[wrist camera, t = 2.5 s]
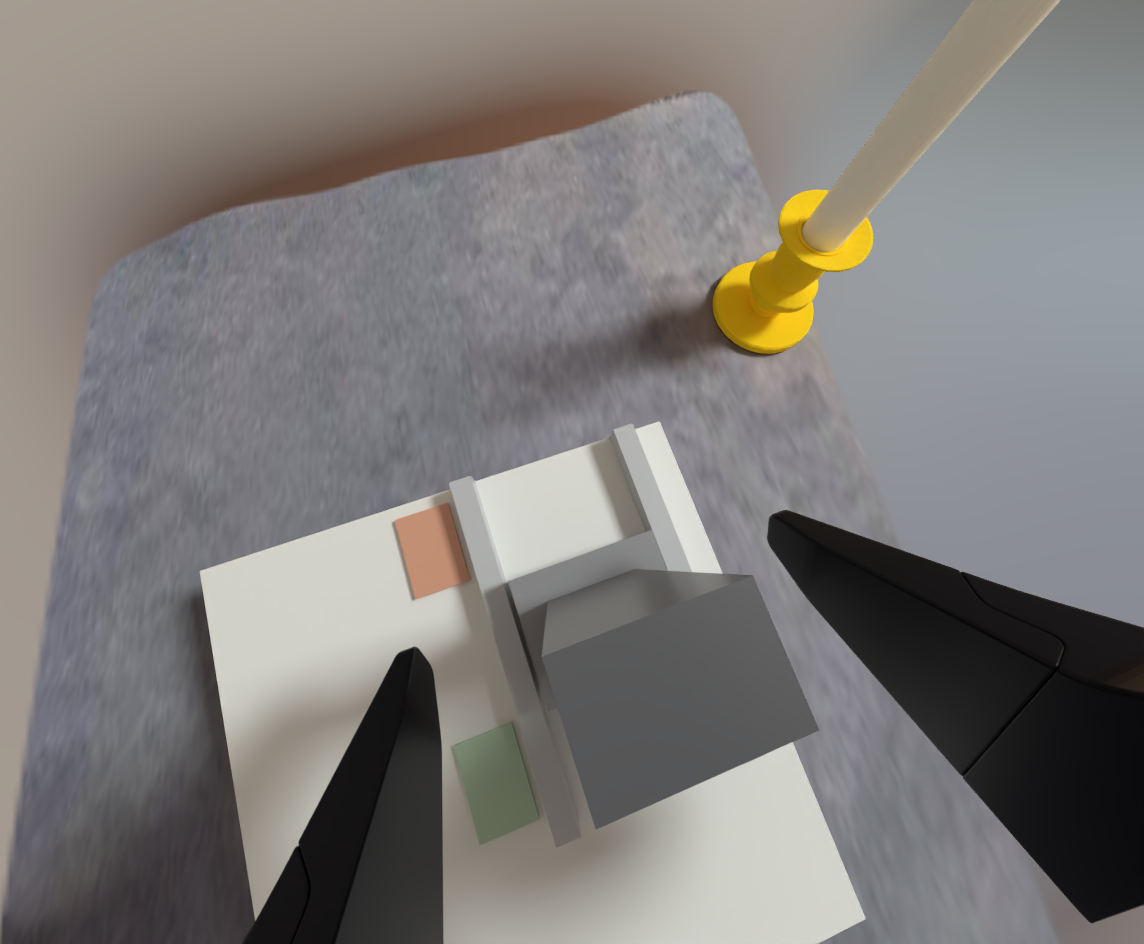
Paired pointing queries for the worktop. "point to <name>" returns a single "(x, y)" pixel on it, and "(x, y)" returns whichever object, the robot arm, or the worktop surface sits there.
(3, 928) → the worktop surface
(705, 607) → the handle
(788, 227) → the candle
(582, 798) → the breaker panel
